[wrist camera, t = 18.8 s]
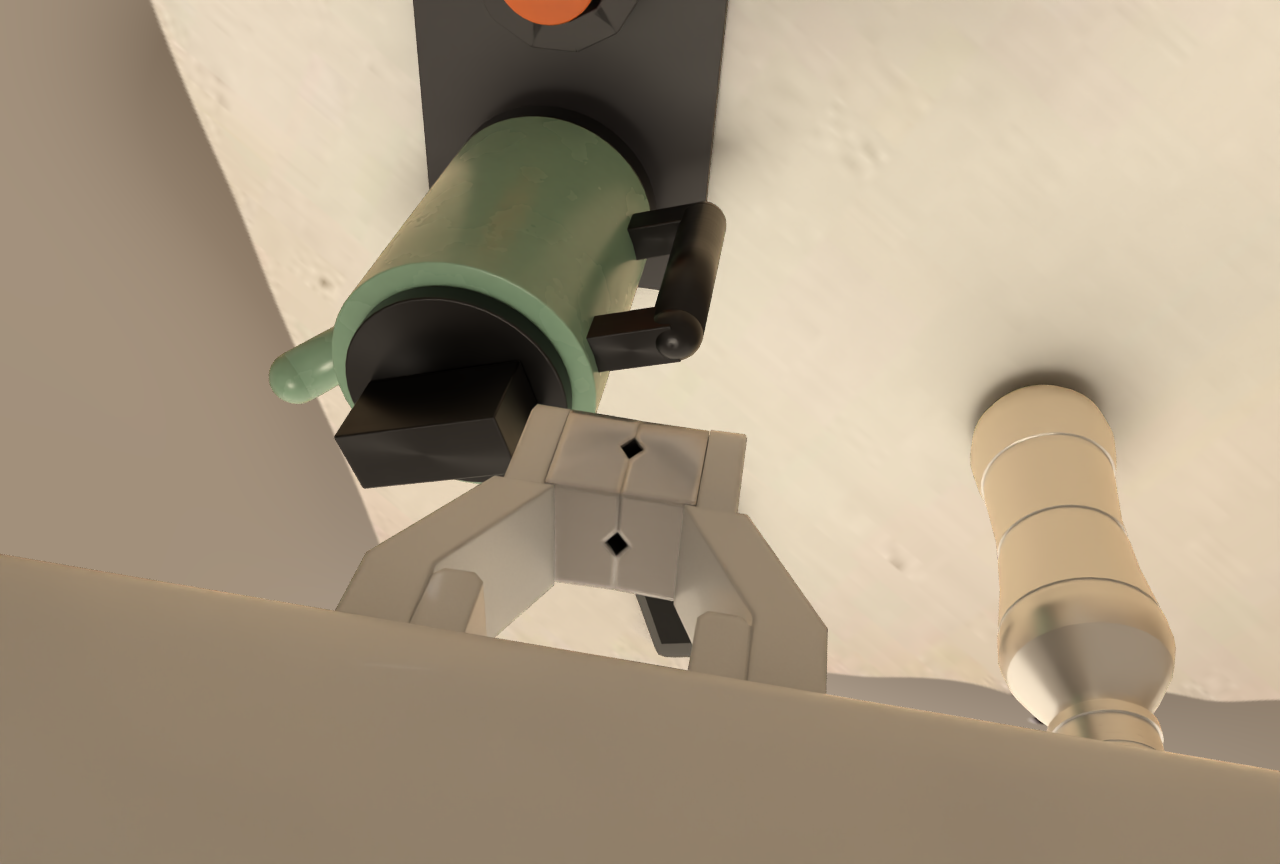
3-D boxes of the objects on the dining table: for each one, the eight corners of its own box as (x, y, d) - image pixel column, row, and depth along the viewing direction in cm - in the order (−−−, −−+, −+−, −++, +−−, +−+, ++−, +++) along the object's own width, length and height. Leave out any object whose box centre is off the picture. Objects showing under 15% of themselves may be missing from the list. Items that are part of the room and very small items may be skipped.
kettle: (711, 64, 38) (639, 286, 25) (757, 270, 44) (716, 542, 31) (340, 146, 43) (119, 368, 30) (421, 322, 49) (263, 576, 36)
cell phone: (659, 650, 66) (658, 659, 65) (604, 495, 57) (602, 503, 57) (769, 647, 64) (768, 656, 63) (728, 485, 55) (726, 494, 55)
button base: (402, -176, 37) (377, -165, 36) (743, -144, 36) (737, -131, 34) (438, 254, 49) (421, 280, 47) (697, 289, 48) (690, 317, 46)
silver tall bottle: (1131, 390, 48) (1263, 752, 32) (1058, 487, 52) (1143, 846, 37) (1005, 349, 47) (1078, 694, 32) (942, 450, 52) (979, 796, 36)
